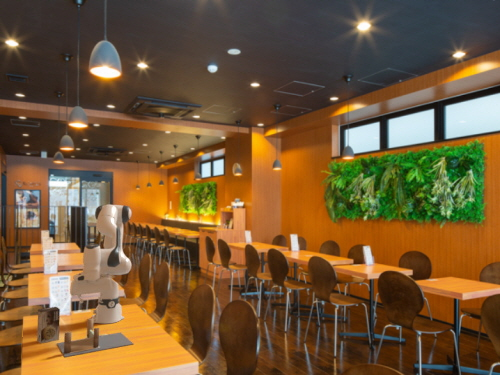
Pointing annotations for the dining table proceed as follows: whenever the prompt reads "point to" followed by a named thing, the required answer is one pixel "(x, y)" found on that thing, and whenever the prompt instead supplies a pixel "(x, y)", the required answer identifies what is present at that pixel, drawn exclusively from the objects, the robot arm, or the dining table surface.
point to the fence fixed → (80, 342)
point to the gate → (90, 328)
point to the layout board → (101, 344)
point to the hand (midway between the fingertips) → (90, 301)
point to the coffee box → (48, 324)
